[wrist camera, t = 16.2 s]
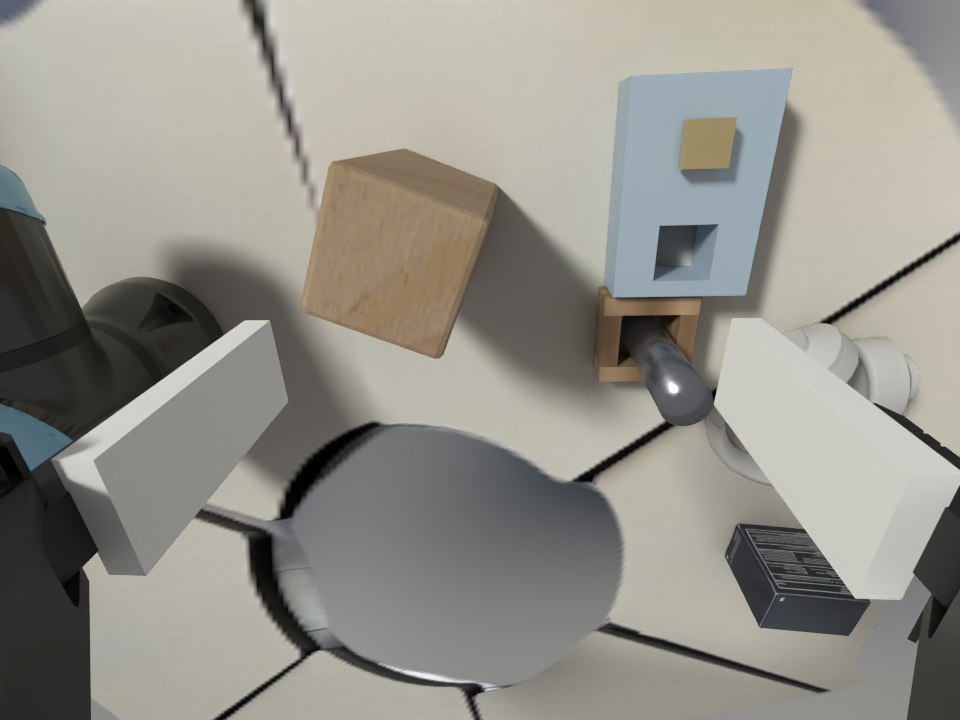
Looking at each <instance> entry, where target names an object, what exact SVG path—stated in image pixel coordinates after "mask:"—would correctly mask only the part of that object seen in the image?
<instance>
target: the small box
mask: <svg viewBox="0 0 960 720" xmlns="http://www.w3.org/2000/svg"><path fill="white" fill-rule="evenodd" d="M725 558H726V560H727V562H728V564H729V566H730V568H731V570H732V572H733V574H734V576H735V578H736V580H737V582H738V584H739V586H740V588H741V590H742V592H743V594H744V597H745V599H746V601H747V603H748V605H749V607H750V609H751V611H752V613H753V615H754V617H755V619H756V621H757V623H758V626H759V627H760V628H769V629H780V630H791V631H802V632H813V633H823V634H834V635H844V636H849V635H850V633H851V632H852V630H853V629H854V627H855V626H856V624H857V623H858V621H859V620H860V618H861V616H862V615H863V613H864V612H865V610H866V609H867V607H868V606H869V604H870V603H871V602H870V601H869V599H855V597H854V596H853V595H852V593H851V592H850V591H849V589H848V588H847V586H846V585H845V584H844V582H843V581H842V580H841V578H840V577H839V576H838V574H837V573H836V571H835V570H834V569H833V567H832V566H831V565H830V563H829V562H828V560H827V559H826V558H825V556H824V555H823V554H822V552H821V551H820V549H819V548H818V547H817V545H816V544H815V543H814V541H813V540H812V539H811V537H810V536H809V534H808V533H807V532H806V530H803V529H792V528H781V527H769V526H759V525H748V524H738V525H737V526H736V528H735V532H734V534H733V537H732V539H731V541H730V544H729V546H728V548H727V551H726V554H725Z"/></svg>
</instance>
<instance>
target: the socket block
mask: <svg viewBox="0 0 960 720" xmlns="http://www.w3.org/2000/svg"><path fill="white" fill-rule="evenodd" d="M792 71H793V68H786V69H765V70H745V71H725V72H704V73H684V74H663V75H643V76H631V77H629V78H626V79H624V80H622V81H620V82H619V92H618V105H617V119H616V132H615V145H614V159H613V172H612V185H611V198H610V212H609V225H608V238H607V252H606V265H605V278H604V283H605V284H606V286H607V288H608V290H609V291H610V293H611V295H612V296H613V297H678V296H743V295H746V292H747V287H748V282H749V278H750V273H751V268H752V263H753V258H754V254H755V249H756V244H757V239H758V234H759V229H760V225H761V220H762V215H763V210H764V205H765V201H766V196H767V191H768V186H769V181H770V177H771V172H772V167H773V162H774V157H775V152H776V148H777V143H778V138H779V133H780V128H781V124H782V119H783V114H784V109H785V104H786V100H787V95H788V90H789V85H790V80H791V75H792ZM730 117H737V122H736V128H735V134H734V140H733V146H732V151H731V157H730V163H729V168H711V169H678V160H679V153H680V145H681V137H682V129H683V122H684V119H706V118H730ZM670 225H697V232H696V238H695V245H694V251H693V258H692V264H691V266H676V267H655V261H656V253H657V245H658V236H659V228H660V226H670Z"/></svg>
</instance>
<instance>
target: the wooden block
mask: <svg viewBox="0 0 960 720" xmlns="http://www.w3.org/2000/svg"><path fill="white" fill-rule="evenodd" d="M498 192H499V187H498V186H497V185H496V184H494V183H491V182H489V181H486V180H484V179H481V178H479V177H476V176H474V175H471V174H468V173H466V172H463V171H461V170H458V169H456V168H453V167H451V166H448V165H445V164H443V163H440V162H438V161H435V160H433V159H430V158H428V157H425V156H423V155H420V154H417V153H415V152H412V151H410V150H407V149H399V150H394V151H388V152H383V153H377V154H372V155H366V156H361V157H355V158H350V159H345V160H339V161H334V162H332V163H331V165H330V166H329V168H328V173H327V178H326V183H325V188H324V193H323V198H322V203H321V208H320V212H319V217H318V222H317V227H316V232H315V237H314V242H313V247H312V252H311V257H310V261H309V266H308V271H307V276H306V281H305V286H304V291H303V296H302V301H301V310H302V311H303V312H305V313H307V314H310V315H313V316H315V317H318V318H321V319H324V320H327V321H330V322H332V323H335V324H338V325H341V326H344V327H347V328H349V329H352V330H355V331H358V332H361V333H364V334H366V335H369V336H372V337H375V338H378V339H381V340H383V341H386V342H389V343H392V344H395V345H398V346H400V347H403V348H406V349H409V350H412V351H415V352H418V353H420V354H423V355H426V356H429V357H432V358H438V359H439V358H440V357H441V356H442V355H443V354H444V351H445V348H446V346H447V343H448V340H449V337H450V335H451V332H452V329H453V326H454V324H455V321H456V318H457V315H458V313H459V310H460V307H461V304H462V302H463V299H464V296H465V293H466V291H467V288H468V285H469V282H470V280H471V277H472V274H473V271H474V269H475V266H476V263H477V261H478V258H479V255H480V252H481V250H482V247H483V244H484V241H485V239H486V236H487V233H488V230H489V227H490V223H491V219H492V216H493V212H494V208H495V204H496V200H497V196H498Z"/></svg>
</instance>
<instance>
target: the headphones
mask: <svg viewBox="0 0 960 720" xmlns="http://www.w3.org/2000/svg"><path fill="white" fill-rule="evenodd" d="M782 335H784V336H785V337H786V338H787V339H789V340H790V341H791V342H793V343H794V344H795V345H797V346H798V347H799V348H801V349H802V350H803V351H804V352H806V353H807V354H808V355H810V356H811V357H812V358H814V359H815V360H816V361H818V362H819V363H820V364H822V365H823V366H824V367H825V368H827V369H828V370H829V371H831V372H832V373H833V374H835V375H836V376H837V377H839V378H840V379H841V380H842V381H844V382H845V383H846V384H848V385H849V386H850V387H852V388H853V389H854V390H856V391H857V392H858V393H859V394H861V395H862V396H863V397H865V398H866V399H867V400H869V401H870V402H871V403H877V404H879V405H881V406H883V407H885V408H888V409H890V410H892V411H894V412H896V413H898V414H900V415H902V414H903V412H904V410H905V408H906V405H907V403H908V401H909V400H912V399H913V398H914V397H915V396H916V394H917V392H918V390H919V386H920V374H919V369H918V366H917V364H916V362H915V361H914V360H913V358H912V357H910V356H908V355H903V353H902V351H901V349H900V348H899V347H898V345H897V344H896V343H895V342H894V341H893V340H891V339H889V338H887V337H873V338H863V339H855V340H851V339H849V338H848V337H847V336H846V335H845V334H843V333H842V332H841V331H840V330H838V329H837V328H835V327H834V326H832V325H830V324H820V323H816V324H812V325H807V326H803V327H801V328H799V329H797V330H792V331H787V332H785V333H782ZM705 427H706V435H707V438H708V441H709V443H710V445H711V448H712V449H713V451H714V452H715V454H716V455H717V456H718V457H719V459H720V460H721V461H722V462H723V463H724V464H725V465H726V466H727V467H728V468H729V469H730V470H732V471H733V472H735V473H737V474H739V475H741V476H743V477H745V478H747V479H750V480H752V481H755V482H759V483H762V484H767V485H772V484H771V482H770V481H769V480H768V478H767V477H766V475H765V474H764V473H763V471H762V470H761V469H760V467H759V466H758V464H757V463H756V462H755V460H754V459H753V458H752V456H751V455H750V454H749V453H747V452H744V451H742V450H740V449H738V448H737V447H736V446H734V445H733V444H732V443H731V442H730V441H729V439H728V437H727V435H726V431H725V419H724V418H723V417H722V415H721V414H720V412H719V411H718V410H717V408H716V407H715V406H714V407H713V408H711V410H710V412H709V414H708V415H707V418H706V421H705Z"/></svg>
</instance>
